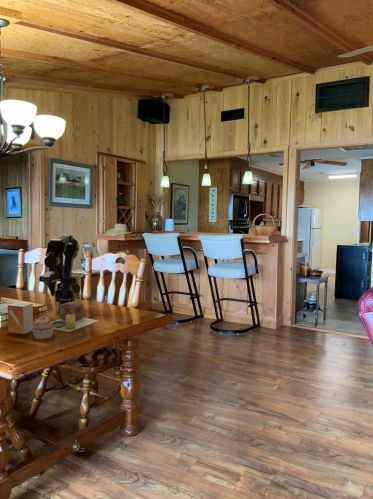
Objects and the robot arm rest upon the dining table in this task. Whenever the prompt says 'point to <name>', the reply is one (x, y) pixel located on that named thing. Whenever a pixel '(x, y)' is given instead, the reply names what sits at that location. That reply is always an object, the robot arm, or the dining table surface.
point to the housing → (71, 310)
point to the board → (79, 323)
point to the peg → (70, 321)
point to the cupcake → (43, 328)
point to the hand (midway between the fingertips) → (57, 297)
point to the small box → (20, 317)
